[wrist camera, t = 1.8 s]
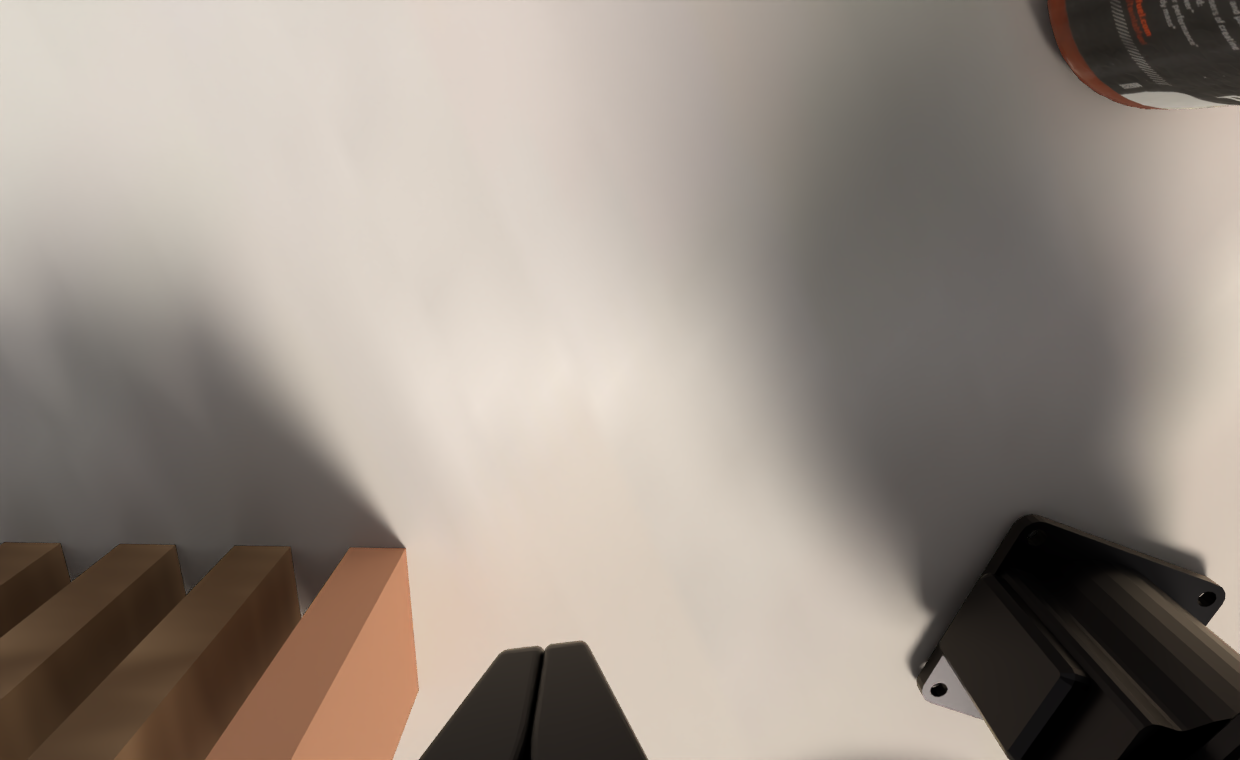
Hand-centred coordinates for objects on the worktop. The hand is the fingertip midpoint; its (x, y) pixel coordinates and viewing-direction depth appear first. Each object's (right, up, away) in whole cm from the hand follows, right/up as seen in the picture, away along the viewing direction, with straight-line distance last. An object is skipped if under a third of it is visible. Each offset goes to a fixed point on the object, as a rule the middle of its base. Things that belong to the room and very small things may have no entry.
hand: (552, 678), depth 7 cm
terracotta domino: (-6, -4, +14) cm, 16 cm away
